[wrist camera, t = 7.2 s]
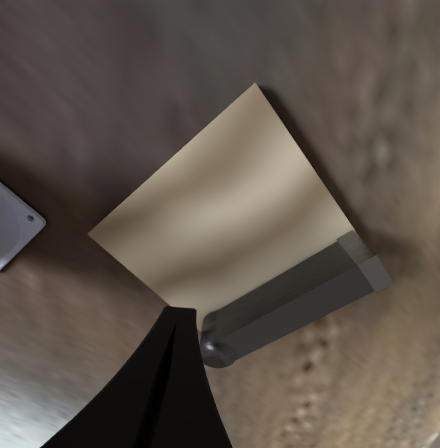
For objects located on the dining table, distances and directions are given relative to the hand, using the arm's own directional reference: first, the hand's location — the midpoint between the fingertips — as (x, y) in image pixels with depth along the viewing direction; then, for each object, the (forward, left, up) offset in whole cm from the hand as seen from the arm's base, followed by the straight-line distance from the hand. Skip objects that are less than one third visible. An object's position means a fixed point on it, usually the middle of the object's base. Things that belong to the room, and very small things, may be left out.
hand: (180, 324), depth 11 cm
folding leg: (+7, +2, -8) cm, 11 cm away
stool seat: (+2, +2, -9) cm, 10 cm away
